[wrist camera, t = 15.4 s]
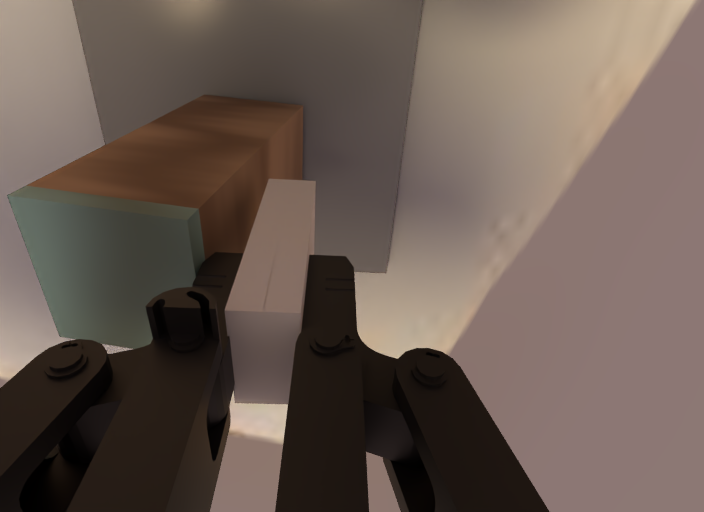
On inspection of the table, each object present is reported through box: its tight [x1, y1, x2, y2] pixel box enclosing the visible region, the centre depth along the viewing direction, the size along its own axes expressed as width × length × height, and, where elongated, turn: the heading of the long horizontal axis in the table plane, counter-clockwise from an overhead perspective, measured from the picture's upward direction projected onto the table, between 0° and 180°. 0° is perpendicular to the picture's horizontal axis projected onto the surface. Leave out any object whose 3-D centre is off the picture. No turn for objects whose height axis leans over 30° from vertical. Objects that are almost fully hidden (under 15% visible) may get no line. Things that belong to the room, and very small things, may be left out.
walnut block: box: [7, 95, 303, 349], centre depth 16 cm, size 4×4×11 cm
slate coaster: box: [72, 0, 423, 273], centre depth 22 cm, size 14×14×1 cm
